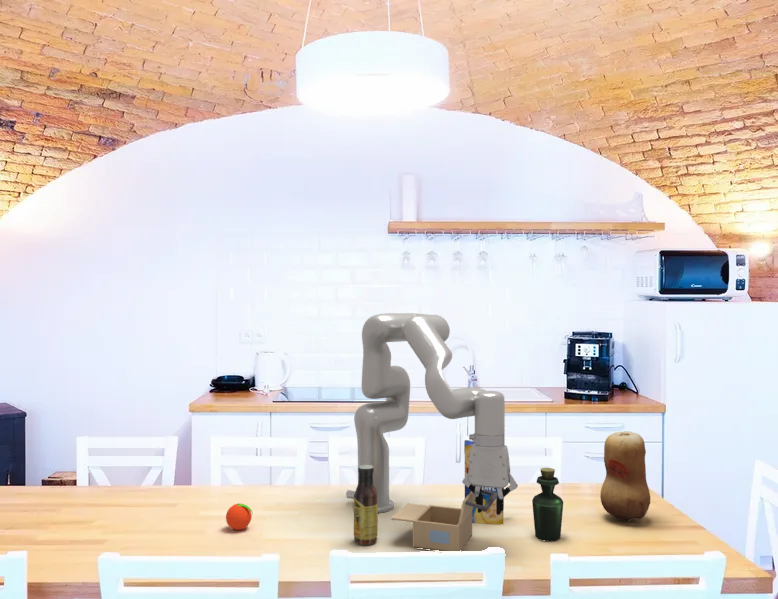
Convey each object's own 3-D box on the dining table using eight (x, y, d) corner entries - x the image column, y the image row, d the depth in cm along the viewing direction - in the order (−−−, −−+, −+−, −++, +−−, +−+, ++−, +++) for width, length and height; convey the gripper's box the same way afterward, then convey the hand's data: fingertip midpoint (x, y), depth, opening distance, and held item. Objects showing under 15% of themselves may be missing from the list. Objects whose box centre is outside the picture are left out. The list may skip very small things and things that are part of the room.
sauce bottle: (353, 538, 178) (353, 463, 178) (376, 537, 179) (376, 462, 179) (354, 547, 172) (353, 469, 172) (378, 546, 172) (378, 468, 172)
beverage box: (503, 524, 189) (503, 446, 189) (464, 523, 190) (464, 445, 190) (502, 516, 196) (502, 441, 196) (464, 515, 197) (464, 440, 197)
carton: (390, 545, 173) (390, 518, 173) (408, 528, 186) (408, 502, 186) (458, 554, 167) (458, 526, 166) (472, 536, 180) (472, 509, 180)
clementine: (259, 527, 187) (259, 501, 187) (246, 535, 181) (246, 508, 181) (234, 523, 190) (234, 498, 190) (220, 532, 183) (220, 505, 183)
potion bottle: (529, 531, 183) (529, 465, 183) (559, 532, 183) (559, 465, 183) (535, 542, 175) (535, 473, 175) (566, 543, 174) (566, 473, 174)
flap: (463, 499, 167) (487, 507, 165) (475, 485, 179) (498, 492, 177) (458, 523, 167) (482, 531, 165) (470, 508, 179) (493, 515, 177)
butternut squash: (591, 520, 192) (591, 432, 192) (612, 509, 202) (612, 426, 202) (639, 531, 183) (639, 439, 183) (658, 519, 193) (658, 432, 193)
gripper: (453, 440, 170) (453, 513, 170) (520, 445, 164) (520, 520, 165) (461, 435, 177) (461, 504, 177) (525, 439, 171) (525, 511, 172)
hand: (489, 511), depth 171 cm, fingers open, 4 cm apart
